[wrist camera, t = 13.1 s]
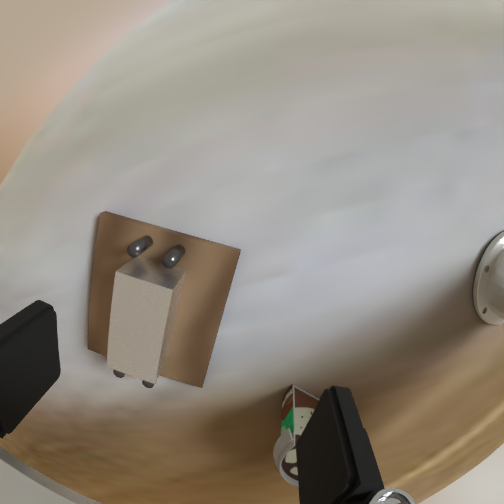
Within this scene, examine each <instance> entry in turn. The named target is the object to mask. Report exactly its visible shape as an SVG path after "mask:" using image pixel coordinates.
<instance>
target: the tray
mask: <svg viewBox="0 0 504 504" xmlns="http://www.w3.org/2000/svg"><path fill="white" fill-rule="evenodd" d="M145 235H148V236H150V237H151V238H152V239H153V245H152V246H151V247H150V248H149V249H147V250H146V251H144V252H143V253H142V254H140V255H139V256H141V257H144V258H147V259H150V260H154V261H157V262H160V263H162V258H163V257H164V256H165V255H166V254H167V253H168V252H169V251H170V250H171V249H172V248H173V247H174V246H176V245H182V246H183V247H184V248H185V255H184V256H183V257H182V258H181V259H180V261H179V262H178V263H177V264H176V265H175V266H174V267H176V268H180V269H183V270H186V274H185V278H184V282H183V287H182V291H181V296H180V300H179V305H178V309H177V314H176V318H175V323H174V328H173V333H172V338H171V343H170V348H169V353H168V357H167V359H166V361H165V364H164V366H163V368H162V370H161V372H160V376H163V377H167V378H170V379H173V380H176V381H180V382H183V383H187V384H190V385H194V386H197V387H201V388H202V387H203V383H204V379H205V376H206V372H207V369H208V365H209V361H210V358H211V354H212V350H213V347H214V343H215V340H216V336H217V333H218V329H219V325H220V322H221V318H222V315H223V311H224V308H225V304H226V301H227V297H228V294H229V290H230V287H231V283H232V279H233V276H234V272H235V269H236V266H237V262H238V259H239V255H240V251H241V250H240V249H237V248H233V247H230V246H226V245H223V244H219V243H216V242H212V241H208V240H205V239H201V238H198V237H194V236H191V235H187V234H184V233H180V232H177V231H173V230H170V229H166V228H163V227H159V226H156V225H152V224H148V223H145V222H141V221H138V220H134V219H131V218H127V217H124V216H120V215H117V214H113V213H110V212H106V211H105V212H102V213H100V218H99V224H98V231H97V238H96V245H95V252H94V261H93V269H92V279H91V291H90V304H89V322H88V349H89V350H92V351H94V352H97V353H99V354H102V355H104V356H107V351H108V337H109V325H110V314H111V304H112V296H113V287H114V280H115V273H116V271H117V270H118V269H119V268H121V267H122V266H123V265H125V264H126V263H127V262H129V261H130V260H131V259H133V258H132V257H130V256H129V255H128V253H127V247H128V246H129V245H130V244H131V243H133V242H135V241H136V240H138V239H140V238H141V237H143V236H145Z"/></svg>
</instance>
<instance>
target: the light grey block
mask: <svg viewBox="0 0 504 504" xmlns="http://www.w3.org/2000/svg"><path fill="white" fill-rule="evenodd" d="M185 274H186V270H183V269H180V268H176V267H173V268H171V269H168V268H166V267H164V265H163V264H162V263H160V262H157V261H154V260H150V259H147V258H144V257H141V256H138V257H136V258H133V259H131V260H130V261H129V262H127V263H126V264H125V265H123V266H122V267H121V268H119V269H118V270H117V271H116V273H115V280H114V287H113V296H112V304H111V314H110V325H109V337H108V351H107V367H109V368H112V369H114V370H117V371H119V372H122V373H125V374H127V375H130V376H133V377H136V378H139V379H141V380H144V381H147V382H150V383H153V384H156V381H157V379H158V377H159V375H160V372H161V370H162V368H163V366H164V364H165V361H166V359H167V357H168V353H169V348H170V343H171V338H172V333H173V328H174V323H175V318H176V314H177V309H178V305H179V300H180V296H181V291H182V287H183V282H184V278H185Z"/></svg>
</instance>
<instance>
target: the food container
mask: <svg viewBox="0 0 504 504" xmlns="http://www.w3.org/2000/svg"><path fill="white" fill-rule="evenodd" d="M319 400H320V399H318V398H317V397H315V396H313V395H311V394H309V393H308V392H306V391H304V390H302V389H301V388H299V387H297V386H295V385H294V384H292V385H291V387H290V388H289V389H288V390H287V391H286V393H285V395H284V398H283V400H282V419H281V436H280V437H279V438H278V440H277V442H276V444H275V446H274V450H273V457H274V460H275V463H276V466H277V469H278V471H279V473H280V474H281V475H282V477H283V478H284V479H285V480H286V481H287V482H288V483H290V484H292V485H293V486H296V487H299V484H298V471H297V458H296V445H297V442H298V439H299V438H300V436H301V434H302V432H303V430H304V429H305V427H306V425H307V423H308V421H309V419H310V418H311V416H312V414H313V412H314V410H315V408H316V406H317V404H318V402H319Z"/></svg>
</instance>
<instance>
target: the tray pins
mask: <svg viewBox="0 0 504 504" xmlns="http://www.w3.org/2000/svg"><path fill="white" fill-rule="evenodd" d="M152 245H153V239H152V238H151V237H150V236H148V235H145V236H143V237H141V238H140V239H138V240H136V241H135V242H133V243H131V244H130V245H129V246H128V247H127V253H128V255H129V256H130V257H132V258H136V257H138V256H139V255H140V254H142V253H143V252H144V251H146V250H147V249H149V248H150V247H151V246H152ZM184 255H185V248H184V247H183V246H182V245H176V246H174V247H173V248H172V249H171V250H170V251H169V252H168V253H167V254H166V255H165V256H164V257H163V258H162V264H163V265H164V267H166V268H168V269H171V268H173V267H174V266H175V265H176V264H177V263H178V262H179V261H180V259H181V258H182V257H183V256H184ZM113 372H114V374H115V375H116V376H117V377H119V378H122V377H124V375H125V373H122V372H119V371H117V370H114V371H113ZM142 383H143V385H144V386H145V387H147V388H152V387H153V386H154V384H153V383H150V382H147V381H144V380H143V381H142Z"/></svg>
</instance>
